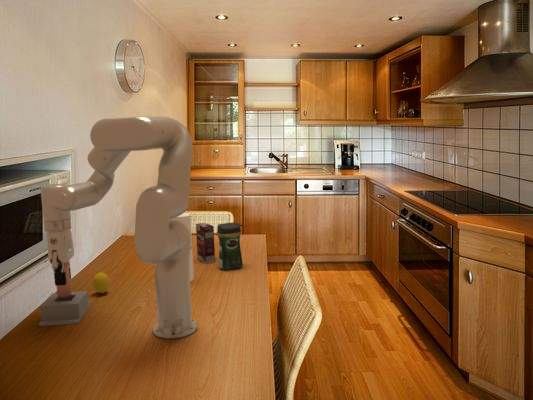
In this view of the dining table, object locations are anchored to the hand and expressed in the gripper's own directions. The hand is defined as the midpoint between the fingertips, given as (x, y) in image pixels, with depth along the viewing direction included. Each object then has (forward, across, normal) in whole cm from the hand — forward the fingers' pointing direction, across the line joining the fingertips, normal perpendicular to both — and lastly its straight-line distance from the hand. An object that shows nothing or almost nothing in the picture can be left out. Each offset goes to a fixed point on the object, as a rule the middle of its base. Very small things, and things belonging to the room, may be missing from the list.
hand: (63, 281), depth 144 cm
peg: (+4, 0, 0) cm, 4 cm away
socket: (+11, 0, 0) cm, 11 cm away
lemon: (+11, +17, -7) cm, 21 cm away
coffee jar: (+11, +39, -53) cm, 67 cm away
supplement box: (+11, +51, -43) cm, 68 cm away
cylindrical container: (+11, +27, -35) cm, 46 cm away
